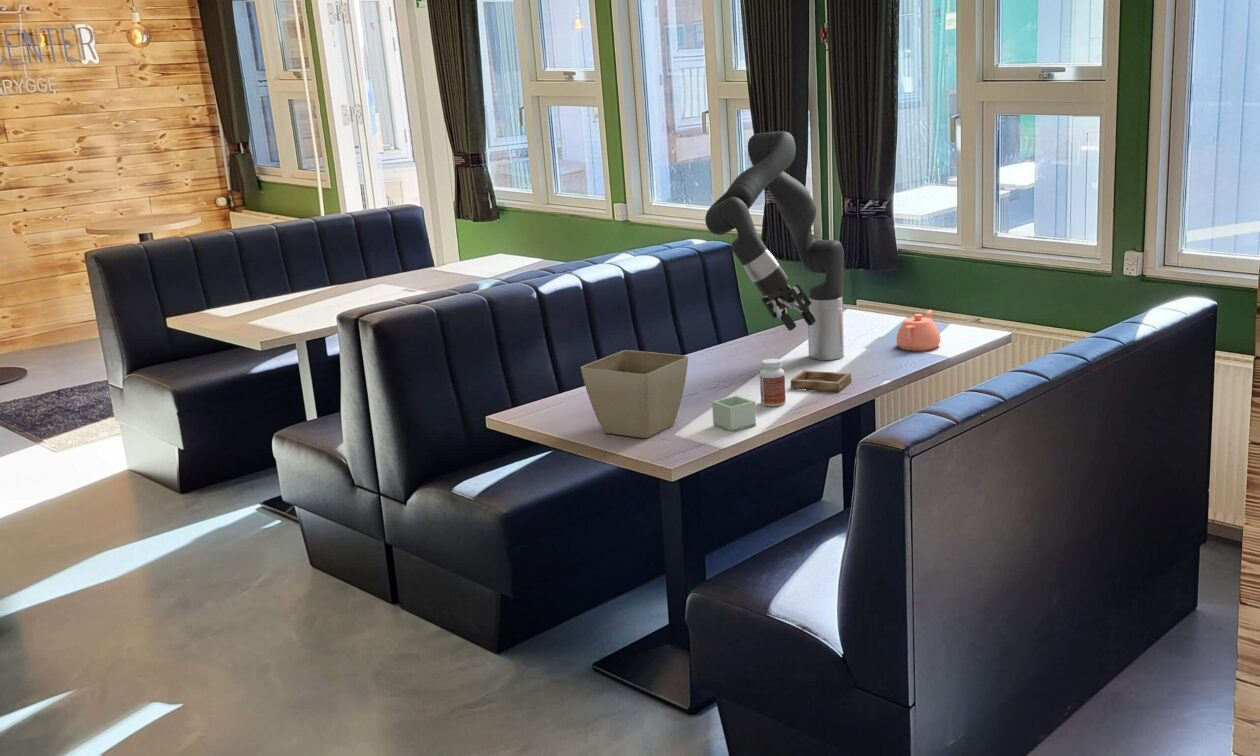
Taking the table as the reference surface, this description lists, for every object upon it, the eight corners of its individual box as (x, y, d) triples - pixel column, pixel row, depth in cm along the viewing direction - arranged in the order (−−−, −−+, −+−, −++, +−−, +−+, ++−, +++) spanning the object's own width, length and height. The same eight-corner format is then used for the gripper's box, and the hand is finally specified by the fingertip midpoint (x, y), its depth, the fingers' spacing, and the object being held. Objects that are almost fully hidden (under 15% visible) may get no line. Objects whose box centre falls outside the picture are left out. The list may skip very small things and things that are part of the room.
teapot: (886, 351, 350) (886, 319, 347) (912, 337, 364) (912, 306, 361) (927, 355, 343) (926, 322, 340) (951, 340, 357) (951, 308, 354)
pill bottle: (790, 403, 306) (789, 360, 303) (771, 408, 303) (770, 365, 300) (774, 398, 311) (773, 356, 308) (755, 403, 308) (754, 361, 305)
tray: (790, 389, 319) (790, 380, 318) (804, 379, 327) (804, 370, 327) (838, 392, 313) (838, 383, 312) (851, 382, 321) (851, 373, 320)
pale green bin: (713, 425, 293) (712, 401, 291) (737, 419, 296) (736, 395, 295) (731, 432, 287) (730, 407, 285) (755, 425, 290) (754, 401, 289)
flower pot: (629, 413, 307) (624, 348, 303) (693, 422, 296) (690, 355, 292) (583, 435, 292) (578, 367, 288) (650, 445, 282) (645, 374, 277)
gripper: (791, 257, 289) (829, 312, 292) (759, 268, 302) (796, 321, 305) (771, 275, 286) (809, 331, 289) (739, 286, 299) (776, 339, 302)
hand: (802, 326), depth 297 cm, fingers open, 8 cm apart
